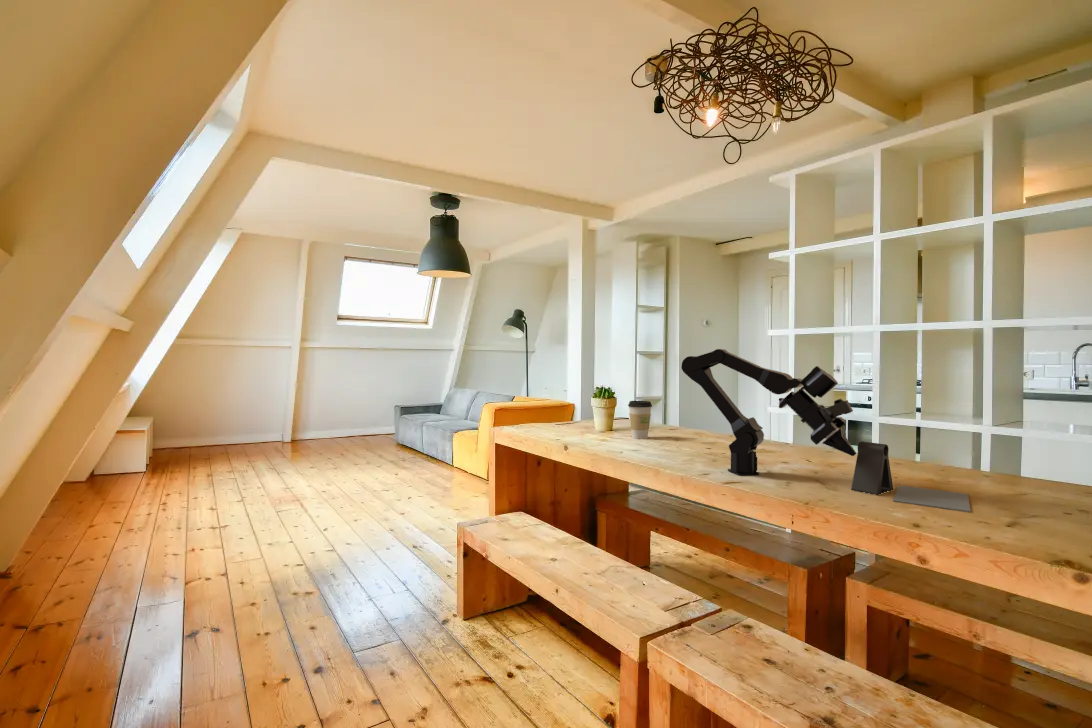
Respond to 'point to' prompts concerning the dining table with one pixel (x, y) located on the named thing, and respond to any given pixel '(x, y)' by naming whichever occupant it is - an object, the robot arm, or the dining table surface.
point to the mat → (932, 498)
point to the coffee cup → (640, 418)
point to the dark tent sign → (872, 469)
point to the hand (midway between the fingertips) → (854, 454)
